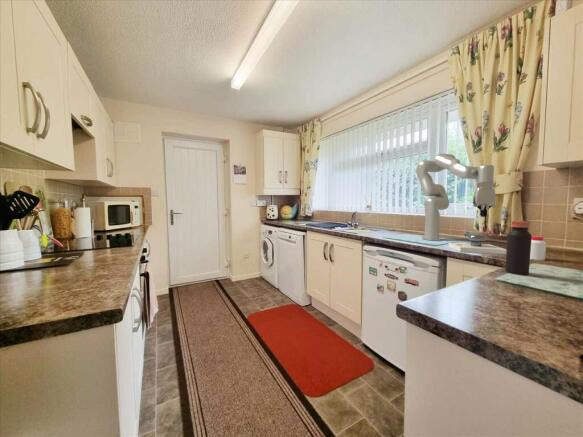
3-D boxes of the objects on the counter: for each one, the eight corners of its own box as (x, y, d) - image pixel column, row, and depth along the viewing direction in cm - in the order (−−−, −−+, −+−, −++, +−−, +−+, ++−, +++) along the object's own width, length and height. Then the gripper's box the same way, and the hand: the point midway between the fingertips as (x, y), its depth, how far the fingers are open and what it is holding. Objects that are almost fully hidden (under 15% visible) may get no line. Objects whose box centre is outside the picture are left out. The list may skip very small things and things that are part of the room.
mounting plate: (448, 246, 150) (448, 241, 150) (489, 248, 144) (490, 243, 144) (460, 251, 133) (460, 246, 133) (507, 254, 128) (507, 249, 127)
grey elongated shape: (487, 246, 134) (487, 235, 133) (471, 246, 136) (472, 235, 135) (472, 242, 150) (473, 232, 150) (458, 241, 152) (459, 231, 152)
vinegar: (531, 273, 92) (535, 221, 91) (525, 276, 89) (529, 222, 87) (508, 269, 98) (511, 220, 97) (502, 271, 94) (505, 221, 93)
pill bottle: (540, 257, 121) (541, 236, 120) (548, 261, 114) (550, 238, 113) (520, 256, 124) (521, 235, 123) (527, 259, 117) (528, 236, 116)
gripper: (496, 186, 145) (494, 216, 146) (467, 186, 149) (466, 216, 150) (503, 185, 138) (501, 217, 139) (473, 185, 141) (472, 216, 142)
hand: (483, 216), depth 144 cm, fingers closed
